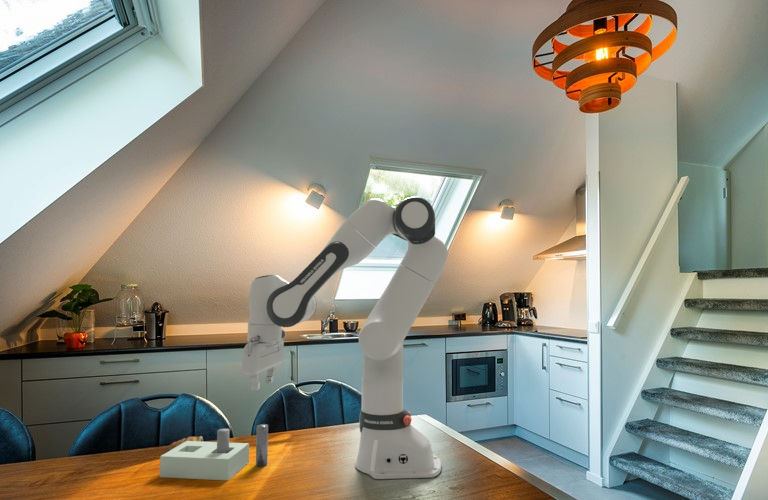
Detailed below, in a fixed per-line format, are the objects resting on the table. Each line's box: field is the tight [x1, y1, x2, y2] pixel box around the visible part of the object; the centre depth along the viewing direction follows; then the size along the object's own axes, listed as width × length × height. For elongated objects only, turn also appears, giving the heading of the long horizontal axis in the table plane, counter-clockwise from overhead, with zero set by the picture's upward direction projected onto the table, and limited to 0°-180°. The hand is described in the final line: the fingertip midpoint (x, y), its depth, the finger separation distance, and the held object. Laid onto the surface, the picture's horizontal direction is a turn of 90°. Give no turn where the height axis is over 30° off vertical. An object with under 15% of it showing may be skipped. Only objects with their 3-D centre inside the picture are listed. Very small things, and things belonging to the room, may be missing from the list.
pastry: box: [167, 435, 204, 451], centre depth 135 cm, size 9×7×4 cm
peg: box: [255, 423, 269, 468], centre depth 123 cm, size 3×3×10 cm
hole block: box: [159, 428, 250, 481], centre depth 120 cm, size 18×12×10 cm, turn 83°
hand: (262, 386), depth 125 cm, fingers open, 8 cm apart
